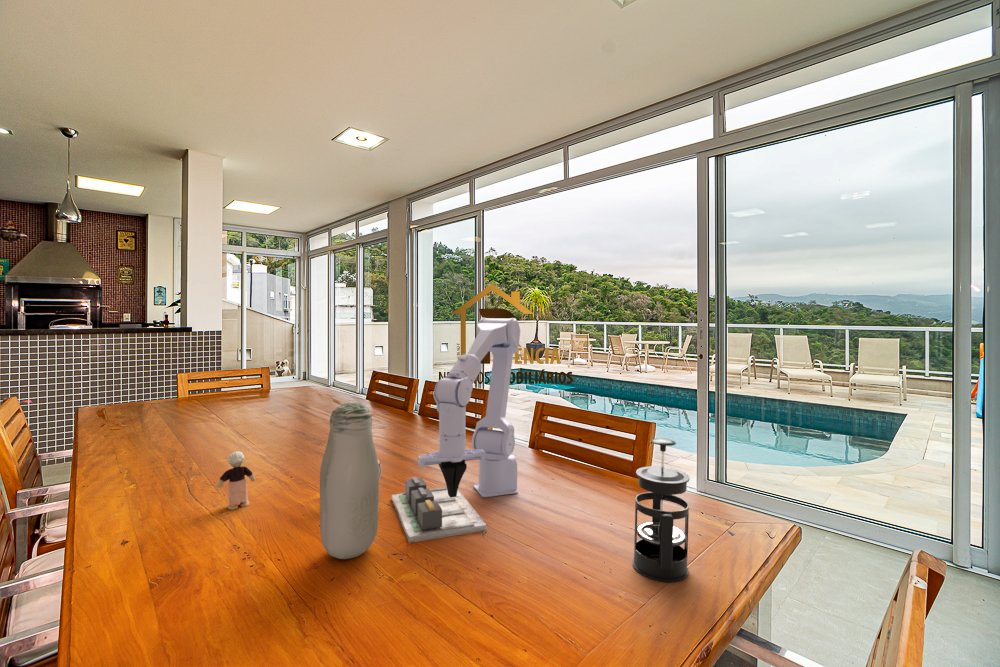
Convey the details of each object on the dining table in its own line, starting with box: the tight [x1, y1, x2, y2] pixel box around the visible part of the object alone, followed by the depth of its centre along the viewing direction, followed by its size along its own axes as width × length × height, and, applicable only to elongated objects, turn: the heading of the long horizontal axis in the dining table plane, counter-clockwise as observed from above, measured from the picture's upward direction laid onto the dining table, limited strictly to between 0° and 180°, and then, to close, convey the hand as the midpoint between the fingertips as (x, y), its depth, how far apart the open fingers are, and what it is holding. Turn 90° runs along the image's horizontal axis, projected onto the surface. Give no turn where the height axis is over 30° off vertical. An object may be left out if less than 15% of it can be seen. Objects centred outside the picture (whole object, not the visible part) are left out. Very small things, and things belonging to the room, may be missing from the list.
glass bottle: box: [319, 402, 380, 560], centre depth 86 cm, size 10×10×28 cm
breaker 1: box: [404, 476, 427, 502], centre depth 111 cm, size 4×5×4 cm
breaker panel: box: [391, 486, 487, 544], centre depth 105 cm, size 16×23×2 cm
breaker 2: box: [411, 488, 434, 515], centre depth 104 cm, size 4×5×4 cm
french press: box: [632, 437, 691, 583], centre depth 82 cm, size 12×9×23 cm
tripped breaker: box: [418, 500, 442, 530], centre depth 97 cm, size 4×5×4 cm
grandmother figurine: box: [216, 450, 257, 511], centre depth 107 cm, size 8×4×13 cm, turn 145°
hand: (452, 495), depth 102 cm, fingers closed
